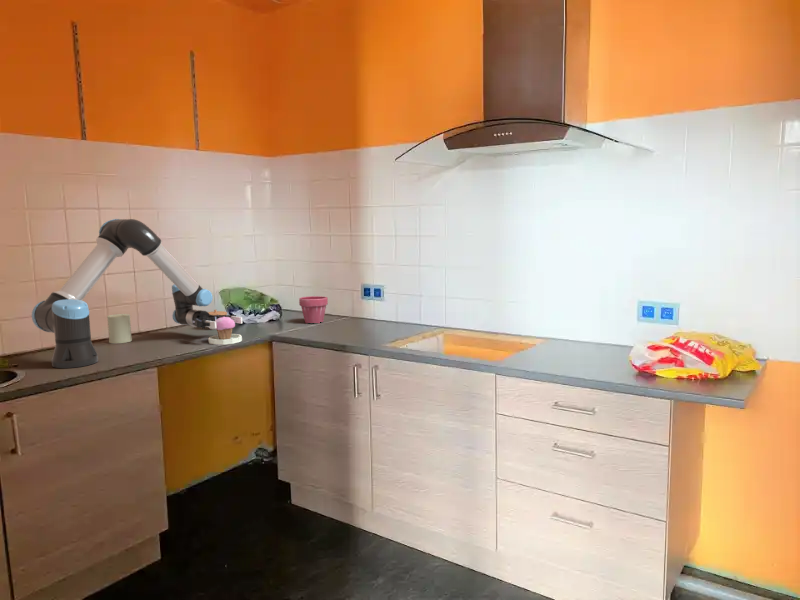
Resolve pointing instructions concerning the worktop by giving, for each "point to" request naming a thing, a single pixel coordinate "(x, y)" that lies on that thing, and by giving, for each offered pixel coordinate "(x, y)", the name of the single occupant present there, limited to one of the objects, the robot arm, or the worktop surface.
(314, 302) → the plant pot
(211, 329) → the lidded jar
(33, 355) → the worktop surface
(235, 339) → the dish
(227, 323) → the cupcake
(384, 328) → the worktop surface
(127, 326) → the can
